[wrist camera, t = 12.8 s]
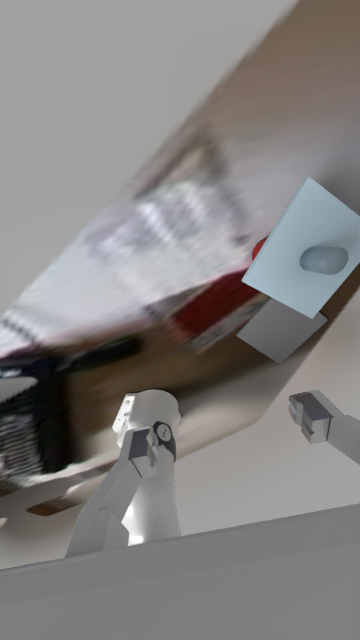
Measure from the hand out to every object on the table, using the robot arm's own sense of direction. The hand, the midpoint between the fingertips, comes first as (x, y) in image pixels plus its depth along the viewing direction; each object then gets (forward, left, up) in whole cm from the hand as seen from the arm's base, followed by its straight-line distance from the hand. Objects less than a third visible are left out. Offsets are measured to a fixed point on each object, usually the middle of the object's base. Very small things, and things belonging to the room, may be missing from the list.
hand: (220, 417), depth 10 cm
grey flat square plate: (+6, -26, -31) cm, 41 cm away
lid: (+16, -10, -19) cm, 27 cm away
